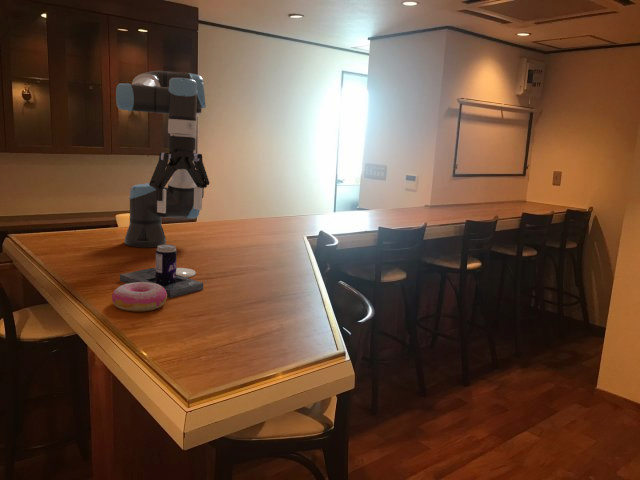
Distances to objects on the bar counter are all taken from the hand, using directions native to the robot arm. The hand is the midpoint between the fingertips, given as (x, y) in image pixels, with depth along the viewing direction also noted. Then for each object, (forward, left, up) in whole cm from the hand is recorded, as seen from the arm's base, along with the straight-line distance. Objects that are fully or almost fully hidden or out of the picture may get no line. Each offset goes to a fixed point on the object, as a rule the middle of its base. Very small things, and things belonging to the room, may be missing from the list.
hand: (180, 211), depth 150 cm
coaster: (-8, +8, -22) cm, 25 cm away
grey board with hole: (-2, -4, -22) cm, 22 cm away
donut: (+8, -19, -22) cm, 30 cm away
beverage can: (0, -4, -22) cm, 23 cm away
